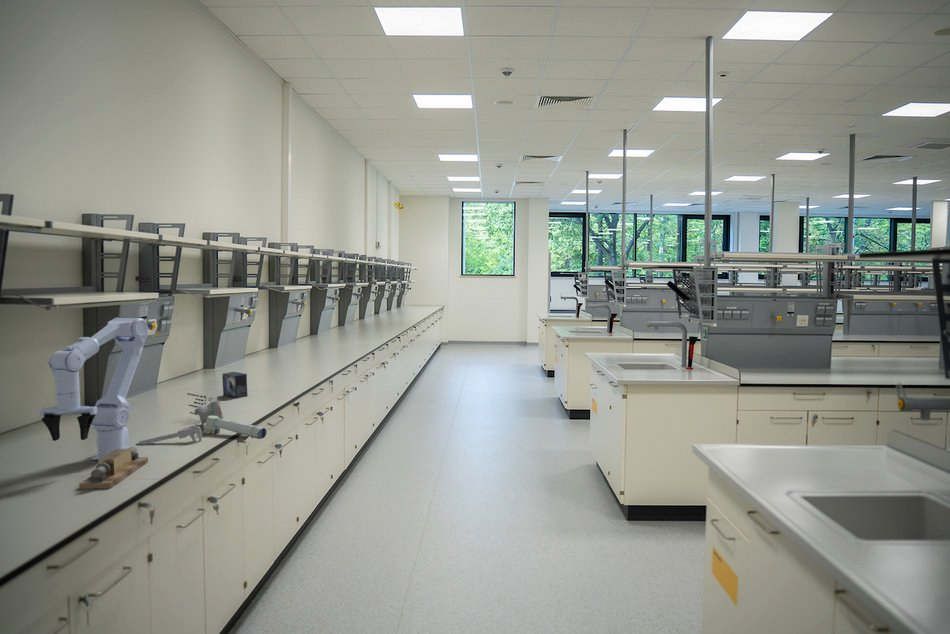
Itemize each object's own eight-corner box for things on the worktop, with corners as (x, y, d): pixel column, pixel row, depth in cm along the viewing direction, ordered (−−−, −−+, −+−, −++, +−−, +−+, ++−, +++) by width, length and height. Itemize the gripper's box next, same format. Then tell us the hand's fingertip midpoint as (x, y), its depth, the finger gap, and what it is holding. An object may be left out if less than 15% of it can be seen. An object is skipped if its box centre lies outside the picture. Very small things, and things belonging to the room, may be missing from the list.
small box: (222, 395, 279) (221, 373, 278) (234, 393, 284) (234, 371, 283) (235, 398, 273) (234, 375, 272) (248, 396, 278) (247, 373, 277)
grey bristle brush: (236, 424, 227) (235, 398, 226) (208, 431, 218) (207, 404, 217) (195, 415, 242) (194, 390, 241) (167, 421, 232) (166, 395, 232)
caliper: (201, 441, 205) (201, 423, 205) (201, 442, 204) (200, 423, 204) (136, 444, 201) (135, 426, 201) (135, 445, 200) (134, 427, 200)
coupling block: (117, 463, 176) (116, 448, 175) (131, 463, 176) (131, 448, 176) (99, 475, 166) (98, 459, 165) (114, 475, 166) (113, 459, 166)
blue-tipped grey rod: (258, 429, 205) (200, 413, 213) (256, 448, 206) (199, 432, 214) (268, 426, 210) (211, 410, 218) (266, 444, 211) (210, 428, 219)
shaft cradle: (120, 462, 181) (119, 444, 181) (148, 461, 182) (147, 443, 182) (79, 489, 160) (78, 468, 159) (111, 488, 160) (110, 467, 160)
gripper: (31, 396, 167) (34, 444, 168) (86, 395, 169) (89, 442, 170) (47, 391, 174) (49, 437, 175) (100, 390, 176) (102, 435, 177)
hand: (70, 439), depth 173 cm, fingers open, 7 cm apart
